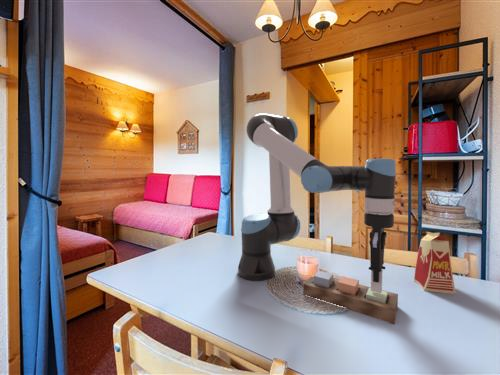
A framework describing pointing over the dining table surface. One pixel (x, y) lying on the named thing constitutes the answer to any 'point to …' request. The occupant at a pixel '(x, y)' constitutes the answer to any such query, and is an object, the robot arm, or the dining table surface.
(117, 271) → the dining table surface
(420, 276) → the milk carton
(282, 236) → the robot arm
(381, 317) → the button panel
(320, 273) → the slate button
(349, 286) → the terracotta button
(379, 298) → the sage button
